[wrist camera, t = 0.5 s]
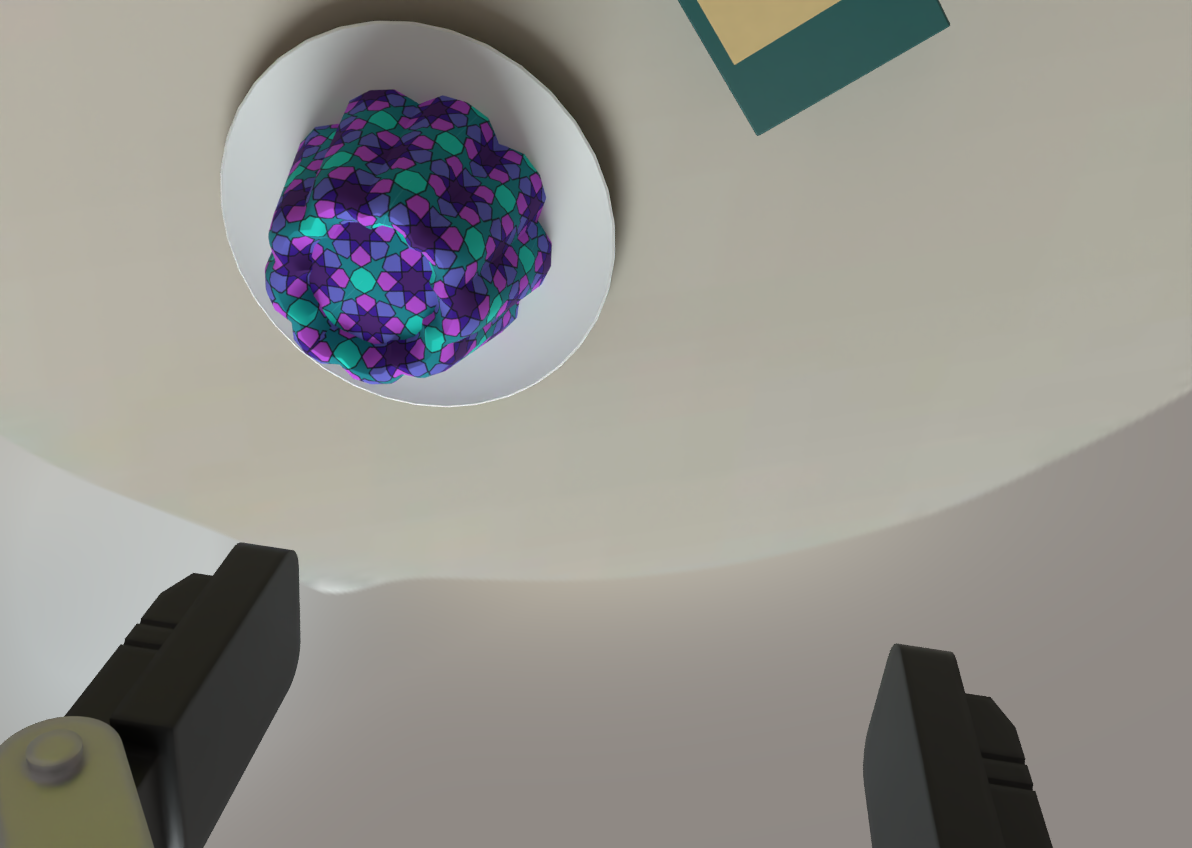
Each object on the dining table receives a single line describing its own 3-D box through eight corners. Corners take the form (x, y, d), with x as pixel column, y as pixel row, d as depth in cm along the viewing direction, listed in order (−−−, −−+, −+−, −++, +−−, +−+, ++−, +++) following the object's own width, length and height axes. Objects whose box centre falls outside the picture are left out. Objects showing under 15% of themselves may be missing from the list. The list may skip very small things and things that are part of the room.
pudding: (158, 208, 35) (65, 276, 31) (393, -85, 30) (320, -53, 25) (444, 458, 39) (396, 552, 34) (704, 236, 33) (687, 314, 29)
